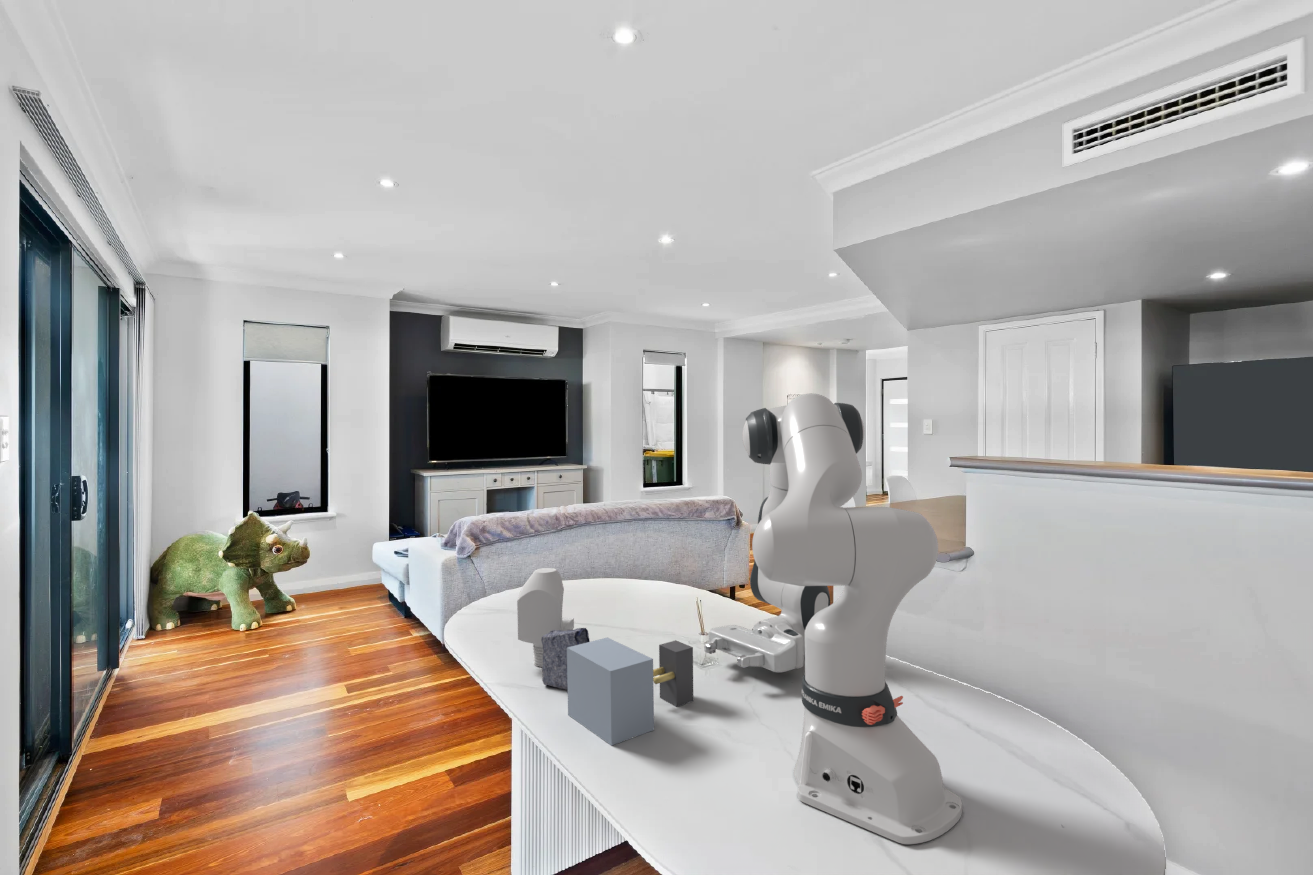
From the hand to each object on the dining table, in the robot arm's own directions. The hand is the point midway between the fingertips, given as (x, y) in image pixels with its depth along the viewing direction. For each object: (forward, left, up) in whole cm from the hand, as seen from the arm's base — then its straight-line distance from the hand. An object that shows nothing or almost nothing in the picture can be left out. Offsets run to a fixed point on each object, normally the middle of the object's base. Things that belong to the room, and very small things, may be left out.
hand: (722, 655), depth 128 cm
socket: (0, +27, -6) cm, 27 cm away
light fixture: (+32, +22, -6) cm, 39 cm away
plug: (0, +14, -6) cm, 15 cm away
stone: (+20, +24, -6) cm, 32 cm away
